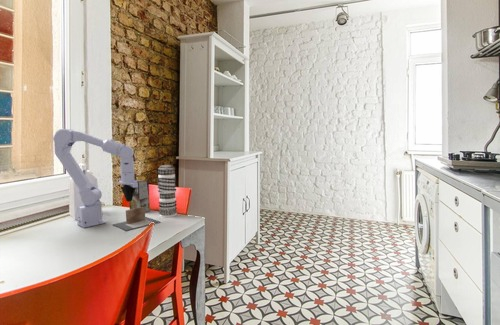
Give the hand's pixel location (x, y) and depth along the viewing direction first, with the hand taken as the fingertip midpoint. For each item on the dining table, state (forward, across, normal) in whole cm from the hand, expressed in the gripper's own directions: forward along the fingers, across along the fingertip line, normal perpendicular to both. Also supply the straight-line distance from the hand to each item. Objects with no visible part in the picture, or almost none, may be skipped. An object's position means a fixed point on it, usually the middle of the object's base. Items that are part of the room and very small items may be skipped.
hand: (129, 201), depth 137 cm
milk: (+10, +28, +10) cm, 31 cm away
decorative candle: (+10, -6, -17) cm, 20 cm away
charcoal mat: (+9, -8, 0) cm, 12 cm away
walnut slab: (+9, -6, 0) cm, 10 cm away
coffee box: (+10, +14, -12) cm, 20 cm away
